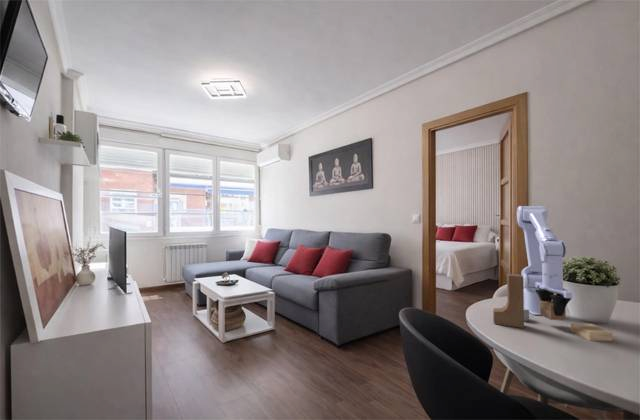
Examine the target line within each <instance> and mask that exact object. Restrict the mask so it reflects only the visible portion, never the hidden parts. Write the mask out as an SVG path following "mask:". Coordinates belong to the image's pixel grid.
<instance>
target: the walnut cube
mask: <svg viewBox="0 0 640 420" xmlns="http://www.w3.org/2000/svg"><path fill="white" fill-rule="evenodd" d="M566 307H567V306H566ZM566 307H565V310H564V313H563V316H556V315H555V312H554V305H553V301H540V315H539V316H543V317H545V318H546V319H549V320H551V321H554V320H556V321H558V320H559V321H561V320H562V321H566V319H567V318H566V317H567V316H566V315H567V314H566V310H567V309H566Z"/></svg>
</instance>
